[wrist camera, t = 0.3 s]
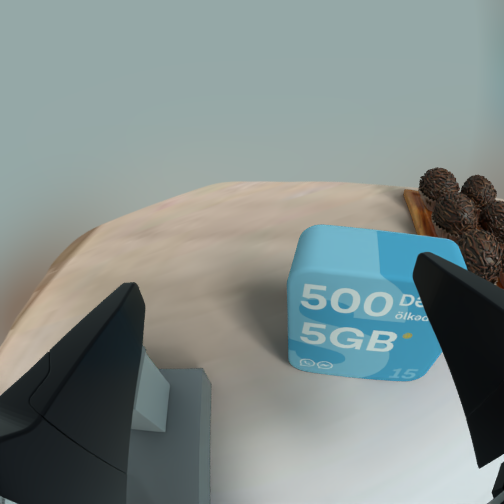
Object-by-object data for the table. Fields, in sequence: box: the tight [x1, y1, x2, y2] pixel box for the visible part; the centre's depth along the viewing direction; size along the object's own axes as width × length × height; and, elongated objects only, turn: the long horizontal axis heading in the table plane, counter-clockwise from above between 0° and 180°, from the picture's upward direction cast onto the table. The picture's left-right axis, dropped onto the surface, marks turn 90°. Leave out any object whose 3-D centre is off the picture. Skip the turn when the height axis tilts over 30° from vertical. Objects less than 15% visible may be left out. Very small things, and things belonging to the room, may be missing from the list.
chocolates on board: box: [404, 168, 504, 289], centre depth 29 cm, size 28×17×8 cm, turn 164°
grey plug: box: [131, 346, 170, 432], centre depth 17 cm, size 4×3×8 cm
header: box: [126, 368, 211, 504], centre depth 14 cm, size 18×8×3 cm, turn 3°
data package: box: [287, 225, 467, 381], centre depth 19 cm, size 12×4×12 cm, turn 73°
